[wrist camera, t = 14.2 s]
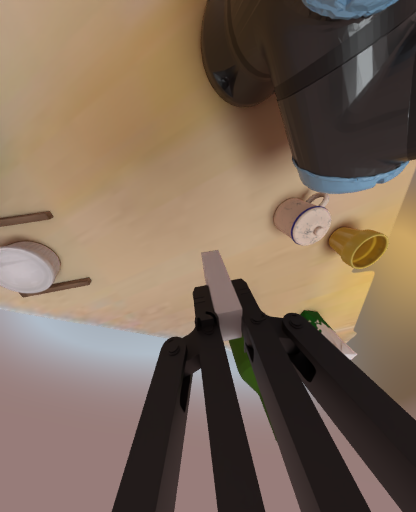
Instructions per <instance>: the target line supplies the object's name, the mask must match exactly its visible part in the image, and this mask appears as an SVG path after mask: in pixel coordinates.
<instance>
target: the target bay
mask: <svg viewBox="0 0 416 512" xmlns="http://www.w3.org/2000/svg"><path fill="white" fill-rule="evenodd" d="M52 217H53V215H52V214H51V212H50V211H48V212H41V213H34V214H27V215H20V216H13V217H7V218H0V227H2V226H8V225H15V224H22V223H29V222H35V221H42V220H49V219H51V218H52ZM90 283H91V279H90V278H84V279H79V280H73V281H68V282H62V283H57V284H52V285H51V286H50V287H49V288H48V289H46V290H44V291H42V292H38V293H20V292H19V294H20V295H21V296H22V297H28V296H33V295H39V294H44V293H49V292H54V291H60V290H65V289H70V288H76V287H81V286H86V285H90Z"/></svg>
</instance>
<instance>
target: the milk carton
mask: <svg viewBox="0 0 416 512" xmlns="http://www.w3.org/2000/svg"><path fill="white" fill-rule="evenodd" d="M301 316H303V317H304V318H305V319H306V320H308V321H309V322H310V323H311V324H312V325H313V326H314V327H315V328H316V329H317V330H318V331H319V332H321V333H322V334H323V335H324V336H325V337H326V338H327V339H328V340H329V341H330V342H331V343H332V344H334V345H335V346H336V347H337V348H338V349H339V350H340V351H341V352H342V353H343V354H344V355H345V356H347V357H348V358H349V359H350V360H351V359H353V358H354V357H355V356H356V355H357V354H356V353H355V352H354V351H353V350H352V349H351V348H350V347H349V346H348V345H347V344H345V343H344V342H343V341H342V339H341V338H340V337H339V336H338V335H337V334H336V333H335V332H334V331H333V330H332V328H331V327H330V326H329V325H328V324H327V323H326V322H325V321H324V320H323V318H322V317H321V316H320V315H319V313H318V312H314V311H305V310H304V311H303V312H302V314H301Z"/></svg>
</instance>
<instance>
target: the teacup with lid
mask: <svg viewBox="0 0 416 512" xmlns="http://www.w3.org/2000/svg"><path fill="white" fill-rule="evenodd" d="M319 197H324V199H323V201H322V202H321V203H320V205H319V206H316V205H313V204H311V202H312V201H313V200H315V199H316V198H319ZM328 201H329V195H328V194H326V193H321V192H319V193H316V194H314V195H312V196H311V197H309V198H308V199H307V200H306V202H305V201H303V200H300V199H297V198H292V199H288V200H286V201H284V202H283V203H282V204H281V205H280V206H279V207H278V208H277V210H276V212H275V215H274V223H275V226H276V227H277V228H278V229H279V230H281V231H282V232H283V233H285V234H286V235H287V236H289V237H290V238H292V239H293V241H294V242H295V243H297V244H299V245H311V244H313V243H315V242H317V241H319V240H320V239H321V238H322V237H323V236H324V235H325V234H326V233H327V231H328V229H329V227H330V224H331V215H330V213H329V211H328V210H327V209H326V208H324V207H325V206H326V205H327V203H328Z"/></svg>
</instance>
